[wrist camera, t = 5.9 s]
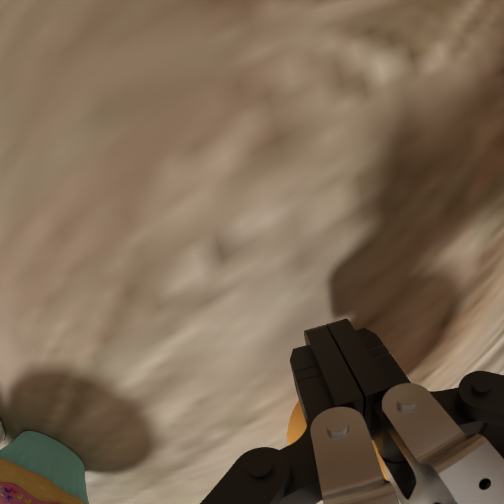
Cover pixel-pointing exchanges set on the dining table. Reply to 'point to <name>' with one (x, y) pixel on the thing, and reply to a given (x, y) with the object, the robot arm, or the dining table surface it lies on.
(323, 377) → the robot arm
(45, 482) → the cupcake
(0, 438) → the inkwell
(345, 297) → the dining table surface
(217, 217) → the dining table surface
